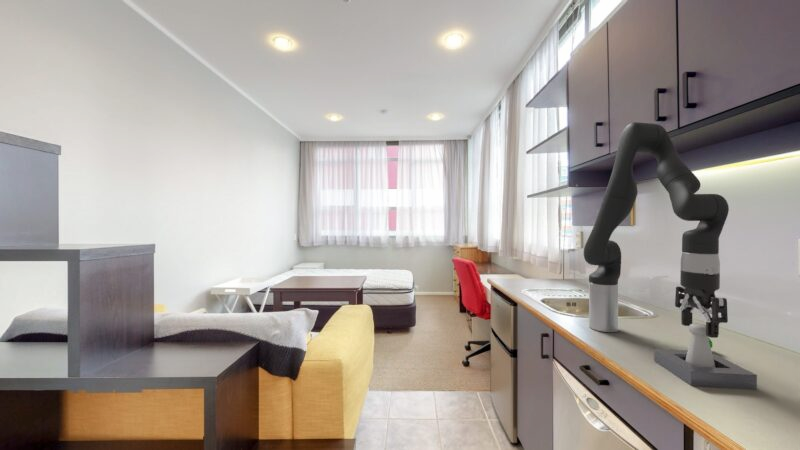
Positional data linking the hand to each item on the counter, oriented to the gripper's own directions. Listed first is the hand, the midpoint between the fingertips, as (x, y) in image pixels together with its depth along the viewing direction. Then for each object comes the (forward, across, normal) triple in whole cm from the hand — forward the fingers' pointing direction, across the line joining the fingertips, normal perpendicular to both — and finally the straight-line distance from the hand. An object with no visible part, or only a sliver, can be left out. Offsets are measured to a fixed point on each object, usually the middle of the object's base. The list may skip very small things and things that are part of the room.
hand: (698, 331), depth 84 cm
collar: (+11, 0, 0) cm, 11 cm away
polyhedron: (+12, -17, +12) cm, 24 cm away
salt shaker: (+12, 0, 0) cm, 12 cm away
